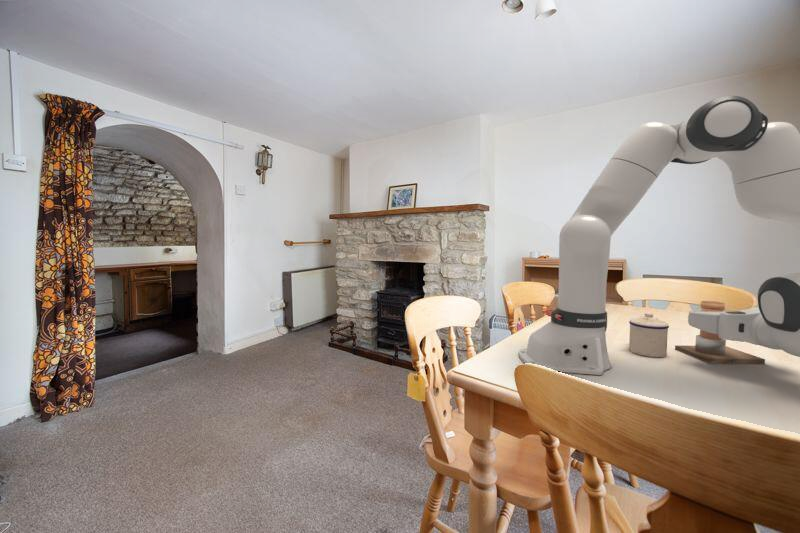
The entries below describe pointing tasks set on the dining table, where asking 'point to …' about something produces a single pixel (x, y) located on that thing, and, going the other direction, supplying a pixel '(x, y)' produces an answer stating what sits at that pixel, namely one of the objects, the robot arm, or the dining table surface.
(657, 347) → the teacup with lid
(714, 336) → the peach lidded canister
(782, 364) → the dining table surface
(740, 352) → the stud board
